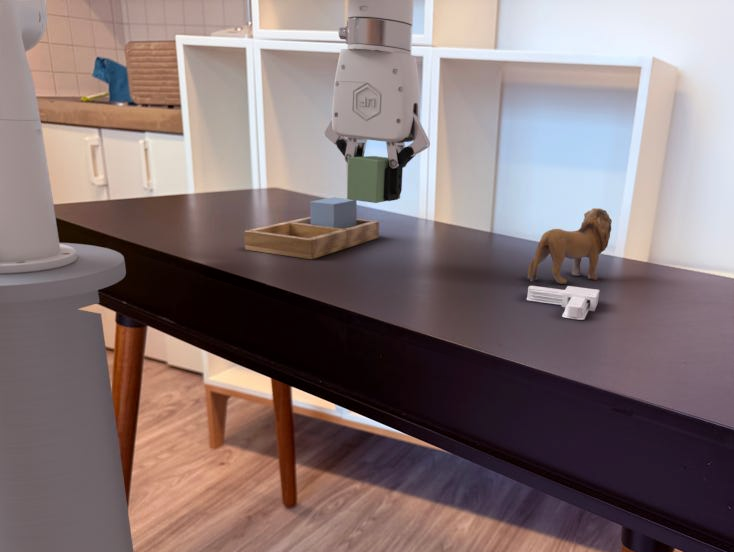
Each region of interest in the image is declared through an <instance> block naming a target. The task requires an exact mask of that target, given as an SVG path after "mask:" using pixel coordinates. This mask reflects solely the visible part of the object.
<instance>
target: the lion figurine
mask: <svg viewBox="0 0 734 552" xmlns="http://www.w3.org/2000/svg"><path fill="white" fill-rule="evenodd" d="M583 216H584V217H583V221H582V222H581V226H580V227H579V229H578V230H571V231H569V230H568V231H567V230H564V229H561V228H552V229H550V230H547V231H545V232H544V233H543V234H542V236H541V237H540V240H539V242H538V244H537V247H536V251H535V254H534V258H533V259H532V260H531V261H530V263H529V266H528V271H527V279H528V280H529V281H530V282H532V283H533V282H536V281H537V280H538V276H537V275H538V267H539V265H540V264H541V263H543V261H545V260H546V259H547V258H548V256H549V255H550V258H551V260H552V269H551V274H552V276H553V277H554V279H555V280H556V283H558V284H561V285H565V284H566V285H567V283H568V280H567V279H566V278H564V277H563V276H561V267H562V265H563V262H564V261H565V258H566V259H569V260H573V265H572V268H571V275H572V276H574V277H575V276H576V277H578V276H581V274H582V273H581V261H582V258H588V261H589V262H588V263H589V266H588V269H587V278H588V279H589V280H595V281H596V280H598V276H597V275H596V274H595V272H596V269H597V265H598V262H599V257H600V256H599V255H601V254H602V253H603V252H604V251H606V249H607V248H608V246H609V240H610V238H611V232H612V221H613V220H612V218H611V217H610V215H609V213H608V212H607V210H605V209H603V208H597V207H596V208H591V210H587V211H586V212H585V213H584V214H583Z"/></svg>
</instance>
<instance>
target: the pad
mask: <svg viewBox="0 0 734 552" xmlns="http://www.w3.org/2000/svg"><path fill="white" fill-rule="evenodd" d="M388 165H389V161H388V156H387V157H385V156H377V155H368V156H367V155H366V156H365V155H364V157H348V163H347V191H346V192H347V194H346V196H347V197H346V199H350V200H356V202H357V201H359V202H366V203H372V204H379V203H384V202H386V201H385V199H384V177H385V169H386V168H388ZM400 199H401V194H399V198H398V200H400Z"/></svg>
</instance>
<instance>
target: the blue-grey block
mask: <svg viewBox="0 0 734 552" xmlns="http://www.w3.org/2000/svg"><path fill="white" fill-rule="evenodd" d="M309 207H310V209H309V210H310V214H309V215H310V217H311V224H312V225H320V226H327V227H335V228H342V229H345V228H349V227H353V226H356V219H357V200H350V199H347V198H346V197H345V198H344V197H337V196H335V197H334V196H333V197H328V198H322V199H317V200H311V201H309Z"/></svg>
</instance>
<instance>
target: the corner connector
mask: <svg viewBox="0 0 734 552" xmlns="http://www.w3.org/2000/svg"><path fill="white" fill-rule="evenodd" d="M599 296H600V289H595V288H587V287H580V286H572V285H567V286H566V288H565V289H559V288H554V287H553V288H552V287H545V286H536V285H529V286H528V287H527V296H526V301H528V302H529V301H530V302H536V303H544V304H550V305H559V306H561V308H564V311H563V312H562V314H561V317H562V318H565V319H571V320H577V321H578V320H580V321H583V320H584V321H585V318H586V317H587V314H588V313H589V312H595V311H596V309H597V306H598V303H599Z"/></svg>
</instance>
